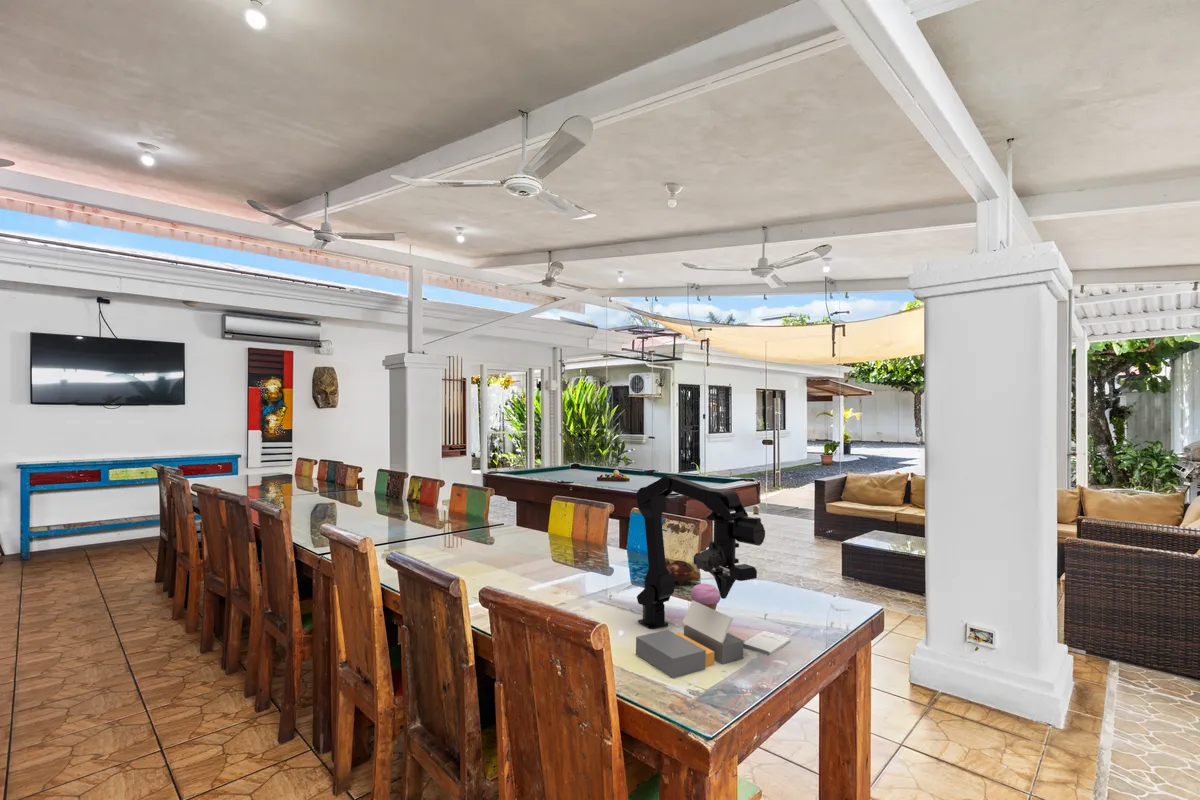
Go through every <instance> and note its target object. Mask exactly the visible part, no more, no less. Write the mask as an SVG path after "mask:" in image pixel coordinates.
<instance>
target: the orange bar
mask: <svg viewBox="0 0 1200 800" xmlns="http://www.w3.org/2000/svg"><path fill="white" fill-rule="evenodd" d="M674 633H675V634H676V635H678V636H680V637H682V638H684V639H686V640H688V641H689V642H691V643H693V644H695V645H697V646H699V647H700V648H702V649H704V650H706V662H705V668H707V667H712V666H714V665H715V660H714V651H712V650H710V649H709V648H707V647H705V646H703V645H701V644H699V643H698V642H696V641H694V640H692V639H690V638H688V637H687V636H685V635H684V633H681V632H674Z"/></svg>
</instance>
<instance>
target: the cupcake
mask: <svg viewBox="0 0 1200 800" xmlns="http://www.w3.org/2000/svg"><path fill="white" fill-rule="evenodd" d="M690 598H691V601H692V600H694V601H696V602H698V603H700V604H702V605H705V606H707V607H709V608H711V609H714V610H716V611H717V606H718V603H720V600H721V597H720V593H719V590H718V588H717V587H716V586H715V585H713V584H709V583H705V582H704V583H699V584H696V585H694V586H693V587H692V589H691V594H690Z"/></svg>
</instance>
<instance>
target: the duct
mask: <svg viewBox="0 0 1200 800" xmlns="http://www.w3.org/2000/svg"><path fill="white" fill-rule="evenodd" d="M675 633H676V632H673V631H670V630H669V629H665V630H661V631H660V630H659V631H656V632H652V633H647V634H642V635H637V636H636V637H635V655H636V656H637V655H638V656H637V657H639V658H641V659H642V660H643V661H645V662H647V663H648V664H650V665H651V664H652V665H651V666H653V667H655V668H656V669H658V670H659V671H661V672H662V673H664V674H666V675H667V676H668V677H670V678H672V679H674V678H677V677H681V676H685V675H688V674H692V673H695V672H701V671H703V670H706V667H705V662H706V650H704V649H702V648H700V647H699V646H697V645H695V644H693V643H691V642H689V641H688V640H686V639H684V638H682V637H680V636H678V635H676V634H675ZM683 635H685V636H687V637H688V638H690V639H692V640H694V641H696V642H698V643H699V644H701V645H703V646H705V647H707V648H709V649H710V650H712V651H714V661H716V662H717V663H720V664H721V665H724V664H725V665H726V664H728V663H731V662H736V661H739V660H742V659H744V648H743V644H744V642H745V641H744V640H743V639H741V638H739V637H737V636H735V635H733V634H731V633H729V632H727V635H726V637H725V639H724V642H723V643H721V642H719V641H717V640H715V639H713V638H711V637H709V636H707V635H705V634H703V633H701V632H699V631H697V630H695V629H693V628H691V627H689V626H687V625H683Z"/></svg>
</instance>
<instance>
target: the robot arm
mask: <svg viewBox="0 0 1200 800" xmlns="http://www.w3.org/2000/svg"><path fill="white" fill-rule="evenodd" d="M672 493H675V494H679V495H682V496H684V497H687V498H690V499H692V500H695V501H697V502H701V503H702V504H703V505H704V506H705V507H706V509H708V510H709V511H711V513H709V515H707V516H706V520H708V521H713V540H712V541H709V544H708V548H707V549H705V550H702V551H701V552H696V553H695V554H694V556H693V564H694V565H696V568H697V569H698V570H702V571H703V572H706V573H709V574H710V575H712V576H713V578H714V581H715V583H716V586H717V587H716V588H717V590H718V591H719V594H720V599H723V600H724V599H727V597H728V595H729V593H730V592H731V589H732V587H733V586H734V584H735V582H736V581H738V582H743V581H744V582H745V581H750V580H754V579H757V578H758V577H757V576H758V570H757V568H756V567H755V566H752V565H749V564H748V563H747V564H746V563H742V564H739V563H740V562H739V560H740V559H739V558H737V557H736V549H737V548H739V547H740V543H743V544H748V545H753V546H758V547H759V546H761V545H762V544H763V543H764V540H765V537H766V530H765V527H764V526H765V525H764V524H763V523H762V518H760V517H750V516H749V514H748V512H747V511H746V508H745V507H744V506H743V503H742V502H741V500H740V497H739V495H738V493H737V492H736V491H735V490H733V489H727V488H713V487H708V486H706V485H703V484H700V483H697V482H694V481H691V480H689V479H686V478H683V477H680V476H677V475H676V474H667V475H663V476H662V477H661V478H659V479H658V480H656V481H653V482H651V483H650V484H648V485H646V486H643V487H640V488H639V489H638V490H637V492H636V493H635V499H636V505H637V508H638V511H639V512H640V514H641V516H642V517H643V519H644V532H645V540H646V551H647V562H648V563H647V564H648V570H647V571H646V575H645V578H644V588H643V590H642V591H640V593H638V594H637V596H636V599H637V604H639V605H641V606H642V619H638V621H637V622H638V623H639V624H641V625H643V626H645V627H646V628H648V629H651V630H653V629H657V628H660V627H665V626H669V622H667V621H666V620H665V619H666V618H665V617H666V616H665V615H666V613H665V612H666V611H665V602H669V601H670V598H671V596H672V595H673V594H674V592H675V588H676V587H677V585H676V581H675V580H674V573H670V572H669V571H668V569H667V568H666V563H665V559H666V554H665V541H664V534H663V533H664V531H663V523H662V516H663V513H664V510H665V507H666V498H668V496H670V495H671V494H672ZM736 541H737V542H736Z"/></svg>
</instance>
